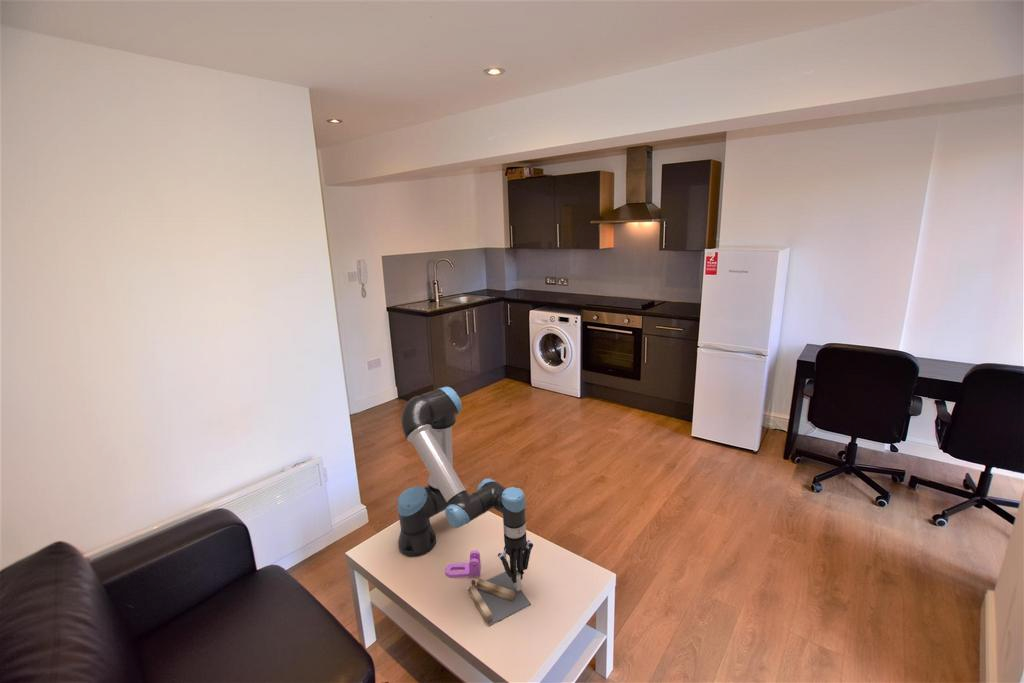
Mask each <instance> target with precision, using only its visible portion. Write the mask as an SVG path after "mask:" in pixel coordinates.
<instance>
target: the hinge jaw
mask: <svg viewBox="0 0 1024 683" xmlns="http://www.w3.org/2000/svg"><path fill="white" fill-rule="evenodd" d="M476 585H477V588H478V589H480V590H483V591H486V592H488V593H491V594H494V595H496V596H499V597H502V598H504V599H507V600H510V601H513V600H514V598H515V591H512V590H510V589H507V588H504V587H501V586H499V585H496V584H493V583H490V582H487V581H486V580H485V579H481V578H478V580H477V581H476Z"/></svg>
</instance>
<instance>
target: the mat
mask: <svg viewBox="0 0 1024 683" xmlns="http://www.w3.org/2000/svg"><path fill="white" fill-rule="evenodd" d="M485 581H487V582H490V583H493V584H496V585H499V586H501V587H504V588H507V589H510V590H512V591H515V598H514V600H513V601H510V600H507V599H504V598H502V597H499V596H496V595H494V594H491V593H488V592H486V591H483V590H480V589H478V588H477V584H476V589H477V590H478V592H479V594H480V595H481V597H482V599H483V600H484V602H485V604H486V605H487V607H488V608H489V610H490V612H491V613H492V621H490V622H488V623H487V622H486V623H487V625H488V627H491V626H494V625H495V624H497V623H498V622H501V621H502V620H505V619H506V618H508V617H510V616H512V615H514V614H516V613H518V612H521V611H522V610H525V609H526V608H528V607H530V606H532V603H531V601H530V600H529V599H528V597H527V596H526V594H525V593H524V592H523V591H522V589H521V590H519V591H517V590H516V588H515V587H514V583H513V581H512V580H511V577H509V576H508V575H507V573H506V571H504V572H502V573H499V574H497V575H495V576H493V577H490V578H488V579H487V580H485ZM467 591H468V592H469V588H468V589H467Z"/></svg>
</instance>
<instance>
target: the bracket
mask: <svg viewBox="0 0 1024 683" xmlns="http://www.w3.org/2000/svg"><path fill="white" fill-rule="evenodd" d="M481 563H482V562H481V554H480V551H479V550H476V549H473V550H471V551H470V553H469V562H454V563H453V562H452V563H450V564H448V565H447V566H446V567H445V575H446V576H447V577H448V578H450V579H452V578H453V579H454V578H469V577H470V578H472V577H473V578H474V577H481V568H482V566H481V565H482V564H481Z"/></svg>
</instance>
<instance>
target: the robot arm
mask: <svg viewBox="0 0 1024 683" xmlns="http://www.w3.org/2000/svg"><path fill="white" fill-rule="evenodd" d="M462 410H463V405H462V401H461V398H460V397H459V394H458V393H457V392H456V391H455V389H453V388H452V387H450V386H444V387H439V388H437V389H435V390H432V391H428V392H425V393H422V394H420V395H415V396H413V397H412V398H410V399H409V400H408V401H407V402H406V403H405V405H404V407H403V409H402V412H401V416H400V420H401V421H400V423H401V429H402V432H403V435H404V437H405V439H406V440H407V442H410V443H412V445H413V446H414V448H415V450H416V452H417V454H418V456H420V459H421V461H422V463H424V465H425V468H426V470H427V472H428V473H429V474H430V475H429V476H428V477H427V478H428V479H427V486H424V487H423V486H421V485H416V486H411V487H409V488H406V489H405V490H404V491H402V493H400V495H399V497H398V499H397V513H398V517H399V519H398V520H399V525H400V532H399V536H398V540H397V543H398V545H397V546H398V550H399V553H400V554H402V555H404V556H406V557H409V558H416V557H421V556H425V555H426V554H429V553H430V552H431V551H432V550H433V549H434V548H435V546H436V544H437V535H436V532H435V530H434V528H433V526H432V524H431V520H430V519H431V518H432V517H434V516H435V515H438V514H440V513H441V512H444V514H445V517H446V521H447V522H448V524H449V525H450V526H451V527H452V528H454V529H459V528H460V527H463V526H464V525H467V524H469V523H470V522H472V521H473V520H475V519H476V518H478V517H480V516H482V515H483V514H486V513H487V512H489V511H491V510H493V509H495V510H496V511H497V512H500V514H502V521H503V522H502V523H503V524H502V525H503V542H504V547H503V551H502V553H501V552H499V553H498V554H497V557H498V558H499V559H500V561H501V563H502V566H503V568H504V572H506V573H507V575H508V576H509V577H511V580H512V581H513V583H514V587H515V588H516V590H517V591H519V590H522V580H523V576H524V575H525V571H524V570H527V569H528V568H529V561H530V557H531V552H532V550H533V547H534V544H533V543H532V542H531V541H530V540H529V539H527V531H526V530H527V529H526V528H527V525H526V524H527V521H526V520H527V518H526V504H527V503H526V498H525V497H526V496H525V492H524V491H523V489H521V488H519V487H515V486H511V487H507V488H506V487H505V486H503V485H502V484H500V483H499V482H498V481H496V480H494V479H492V478H484V479H483V480H482V481H481V482H480V483H479V484H478V486H477V487H476V488H477V489H476V491H474V492H472V493H470V494H469V493H468V490H466V487H465V485H463V483H462V481H461V479H460V478H459V475H458V474H457V472H456V470H455V469H454V464H453V426H455V424H456V422H457V420H456V419H457V418H456V416H457V415H459V414H460V413H461V412H462ZM507 556H508V557H509V562H508V560H507V559H508V558H507Z"/></svg>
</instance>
